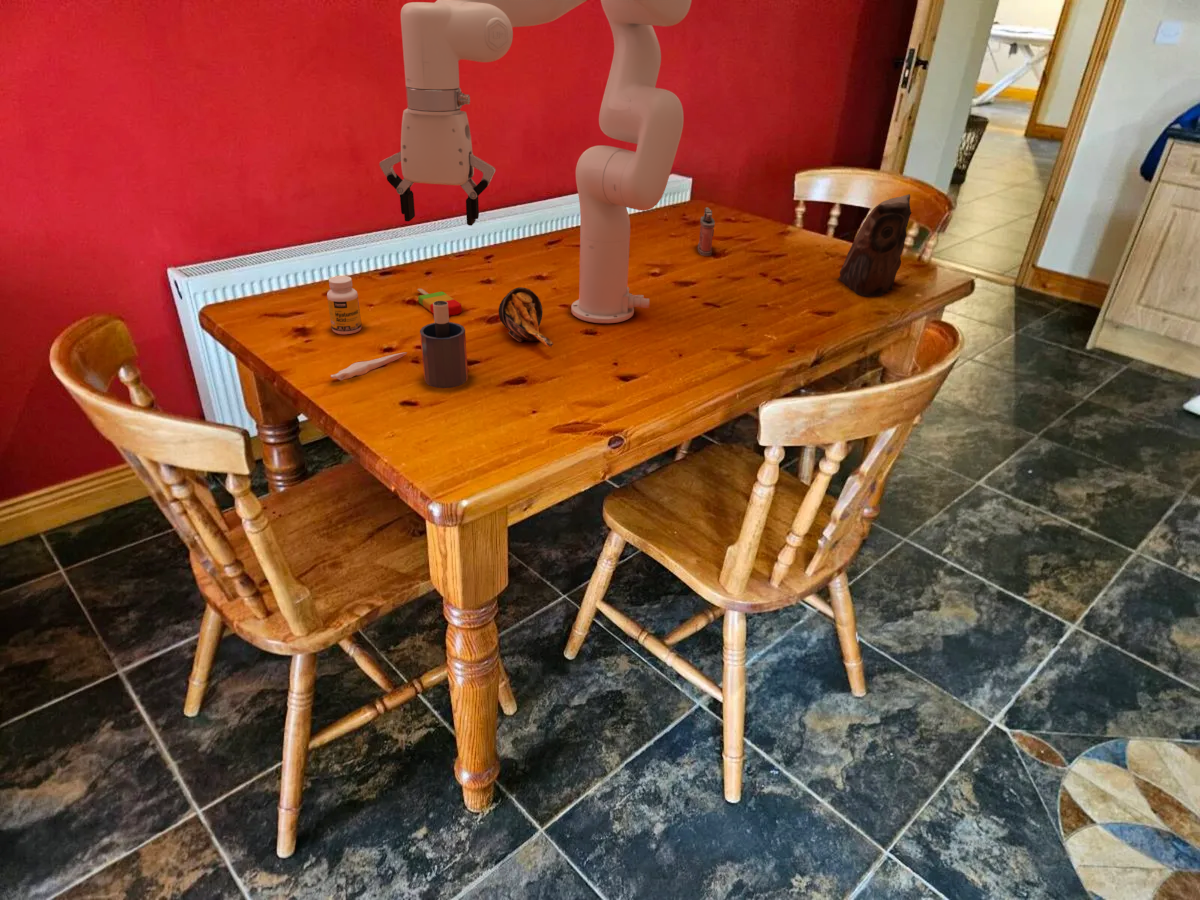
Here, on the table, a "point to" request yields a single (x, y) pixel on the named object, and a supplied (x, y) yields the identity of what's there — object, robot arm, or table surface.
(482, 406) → the table surface
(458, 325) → the pen cup
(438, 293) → the popsicle
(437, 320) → the marker pen
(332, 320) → the supplement bottle
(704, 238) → the lighter
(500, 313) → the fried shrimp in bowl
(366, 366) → the pale pink tapered rod
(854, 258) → the owl
